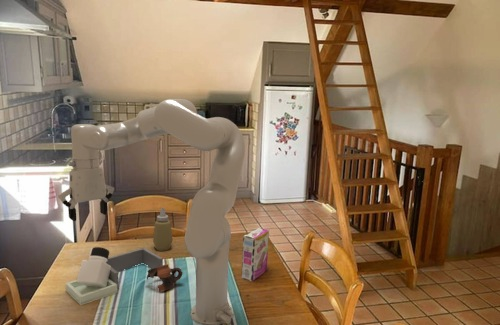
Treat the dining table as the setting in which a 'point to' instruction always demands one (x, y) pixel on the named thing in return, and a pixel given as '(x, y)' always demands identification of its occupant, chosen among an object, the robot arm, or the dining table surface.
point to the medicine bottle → (95, 268)
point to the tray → (89, 291)
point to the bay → (132, 262)
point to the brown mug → (165, 276)
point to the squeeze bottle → (162, 232)
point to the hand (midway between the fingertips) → (88, 216)
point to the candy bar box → (255, 254)
